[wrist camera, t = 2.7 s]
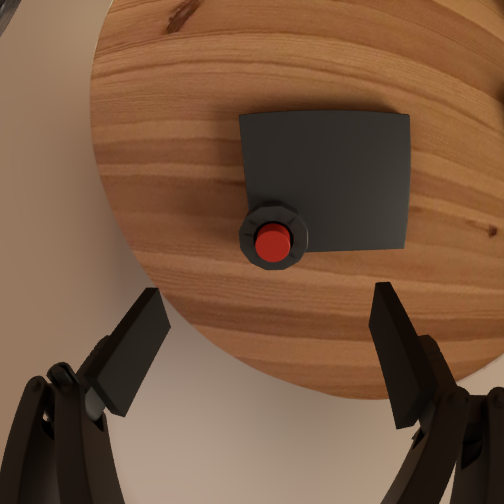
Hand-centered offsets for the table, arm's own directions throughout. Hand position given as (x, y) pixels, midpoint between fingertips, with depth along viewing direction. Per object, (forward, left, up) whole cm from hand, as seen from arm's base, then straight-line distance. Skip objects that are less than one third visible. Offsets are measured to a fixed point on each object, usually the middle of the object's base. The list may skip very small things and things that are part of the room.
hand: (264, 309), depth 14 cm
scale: (+5, +4, -12) cm, 14 cm away
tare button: (0, 0, -9) cm, 9 cm away
